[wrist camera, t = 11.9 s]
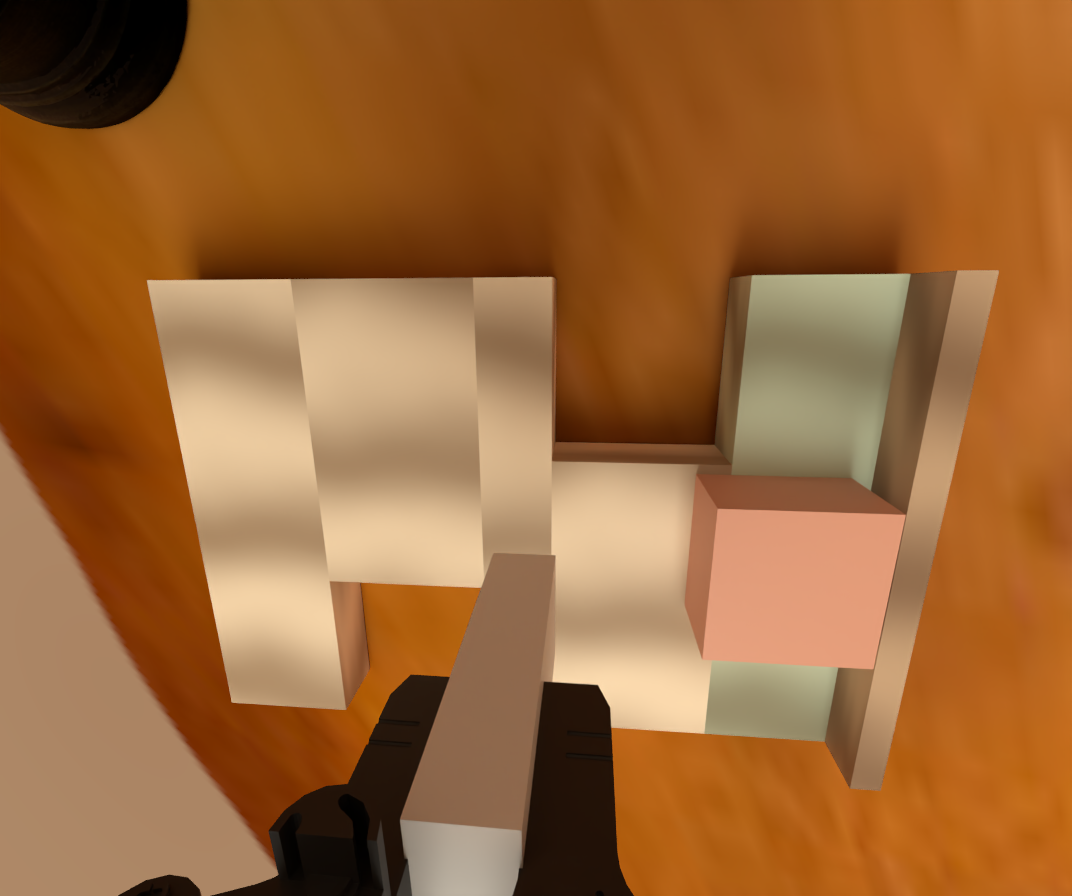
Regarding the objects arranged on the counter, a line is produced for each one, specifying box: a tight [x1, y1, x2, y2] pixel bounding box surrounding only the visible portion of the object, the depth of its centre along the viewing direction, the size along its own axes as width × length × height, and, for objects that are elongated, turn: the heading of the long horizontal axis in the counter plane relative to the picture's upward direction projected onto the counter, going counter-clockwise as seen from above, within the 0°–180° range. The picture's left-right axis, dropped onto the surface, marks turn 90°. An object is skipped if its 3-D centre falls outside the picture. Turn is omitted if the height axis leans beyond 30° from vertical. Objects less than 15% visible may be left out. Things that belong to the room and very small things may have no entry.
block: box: [685, 474, 906, 669], centre depth 17 cm, size 5×5×3 cm
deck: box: [147, 270, 999, 791], centre depth 19 cm, size 17×25×4 cm
